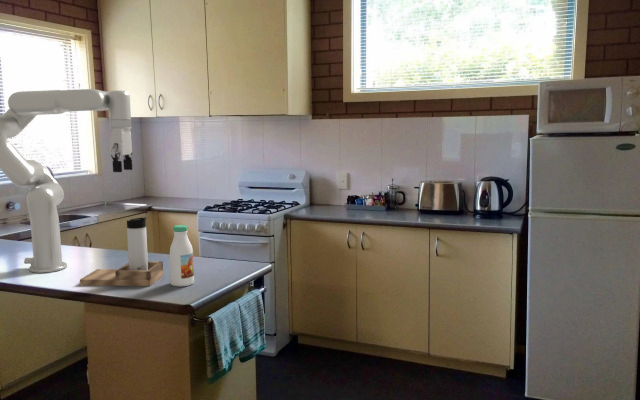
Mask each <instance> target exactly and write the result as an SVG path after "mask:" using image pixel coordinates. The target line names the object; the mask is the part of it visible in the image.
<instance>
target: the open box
mask: <svg viewBox="0 0 640 400" xmlns="http://www.w3.org/2000/svg"><path fill="white" fill-rule="evenodd" d="M163 263H164V261H149V260H148V271H146V270H129V262H127V263H126V264H124V265H122V266H121V267H119V268H118V269H117V268H115V269H113V268H110V269H109V268H104V269H102V268H99V269H98V268H97V269H95V270H94V271H91V272H90V273H88V274H87V275H85V276H84V277H82V278H80V279H79V285H80V286H106V287H107V286H108V287H110V286H115V287H117V286H118V287H120V286H121V287H122V286H123V287H128V286H129V287H134V286H135V287H151V286H152V285H153V284H154V283H156V282H158V280H160V279H161V278H162V277H163V276H164V266H163V265H164V264H163Z"/></svg>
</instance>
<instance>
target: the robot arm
mask: <svg viewBox="0 0 640 400" xmlns="http://www.w3.org/2000/svg"><path fill="white" fill-rule="evenodd" d="M130 96H131V95H130V92H129V91H126V90H110V91H105V90H99V89H95V88H91V89H90V88H84V89H81V88H80V89H63V90H62V89H60V90H59V89H54V90H53V89H49V90H48V89H47V90H29V91H27V90H26V91H16V92H13V93H11V95H9V97H8V100H7V106H8V108H9V109H8V110H6V111H5V112H4V114H0V170H1V172H2V173H3V174H4V175H5V176H6V177H7V178H8V179H9V181H10V183H12V184H13V185H14V186H16V187H19V188H28V189H29V191H28V193H27V196H26V206H27V211H28V215H29V223H30V233H31V234H30V235H31V246H32V257H25V258H24V260H23V264H26V265H28V264H29V265H30V266H29V268H28V269H29V272H31V273H37V274H38V273H39V274H41V273H42V274H43V273H53V272H58V271H61V270H64V269H66V268H67V267H68V264H67V262H65V261H63V256H62V255H63V253H62V245H61V244H62V243H61V242H62V241H61V227H60V219H59V217H60V216H59V214H58V208H57V206H59V205H60V204H62V202H63V200H64V198H65V193H64V192H65V191H64V189H63V187H62V186H61V184H60V183H59V182H58V181H57V180H56V179H55V178H54V177H53V175H52V174H51V173H50V172H49V171H48V170H47V169H46V168H45V167H44V166H43V165H42V164H41V163H40V162H38V161H36V160H34V159H33V160H32V159H26V158H25V157H24V156H23V155H22V154H21V153H20V152H19V150H18V149H17V148H16V147H15V146H14V145H13V144H11V142H9V141H8V140H7V139H10V138H14V137H16V136H18V135H19V134H20V133H21V132H23V130H24V129H26V128H27V126H28V125H29V124H30V123H31V122H32V121H34V119H35V118H36V116H39V115H45V116H46V115H59V114H60V115H61V114H64V113H69V112H85V111H87V112H88V111H92V112H93V111H96V112H102V111H103V112H104V111H108V114H109V117H108V118H109V129H110V131H109V154H110V157H111V161H112V162H111V163H112V173H122V172H123V170H124V171H132V170H133V142H132V132H131V129H132V114H131V113H132V111H131V110H132V109H131V97H130ZM122 157H123V161H122ZM122 162H123V163H122ZM122 164H123V165H122Z"/></svg>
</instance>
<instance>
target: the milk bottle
mask: <svg viewBox="0 0 640 400" xmlns="http://www.w3.org/2000/svg"><path fill="white" fill-rule="evenodd" d="M172 229H173V230H172V231H173V240H172V242H171V244H170V248H169V271H170V273H169V274H170V285H171V286H173V287H187V286H191V285H194V283H195V269H194V268H195V267H194V249H193V245H192V243H191V242H190V239H189V236H188V225H185V224H177V225H174V226H173V227H172Z"/></svg>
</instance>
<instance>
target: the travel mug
mask: <svg viewBox="0 0 640 400" xmlns="http://www.w3.org/2000/svg"><path fill="white" fill-rule="evenodd" d="M146 220H147V217H146V216H145V217H135V218H130V219H129V220H128V219H127V220H126V237H127V240H126V241H127V253H128V254H127V255H128V256H127V257H128V258H127V259H128V263H129V270H146V271H148V261H149V259H148V257H149V256H148V242H147V241H148V240H147V239H148V238H147V225H146V223H147V222H146Z"/></svg>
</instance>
